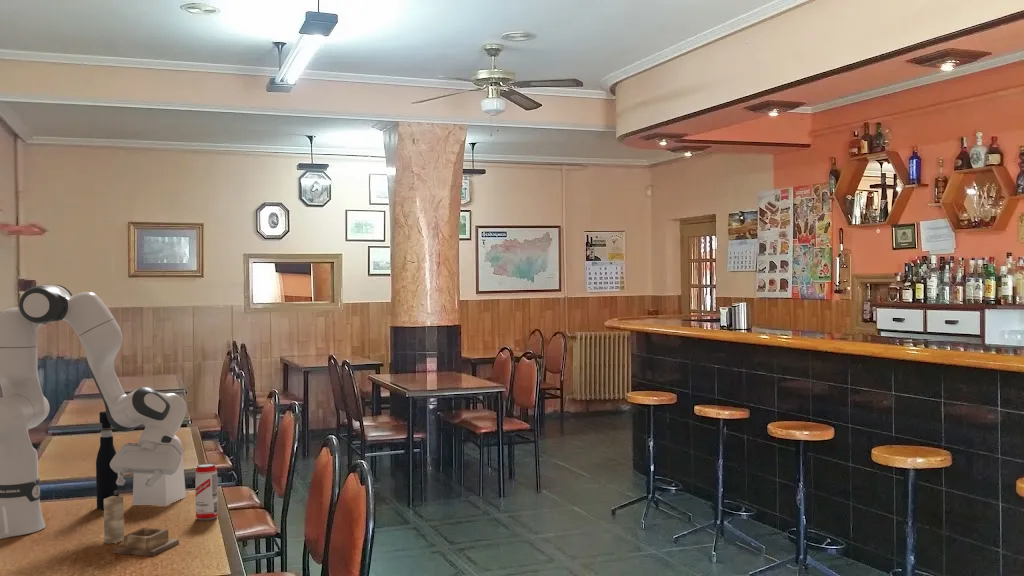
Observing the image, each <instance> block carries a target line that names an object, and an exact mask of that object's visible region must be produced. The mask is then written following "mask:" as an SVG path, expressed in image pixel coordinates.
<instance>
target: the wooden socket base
mask: <svg viewBox="0 0 1024 576" xmlns="http://www.w3.org/2000/svg"><path fill="white" fill-rule="evenodd" d="M169 536H170V535H169V529H167V528H151V527H149V528H148V527H142V528H140V529H139V528H138V529H137V530H134V531H132V532H130V533H128V534H124V540H123V544H121V545H119V546H116V547H114V548H113V549H112V553H113V554H115V553H117V554H120V555H129V554H134V555H133V556H143V555H144V557H145V556H146V557H155V556H157V555H159V554H161V553H163V552H165V551H167V550H169V549H171V548H173V547H175V546H177V545H179V542H180V540H179V539H178V538H170V537H169ZM158 553H159V554H158ZM156 554H157V555H156ZM154 555H155V556H154Z"/></svg>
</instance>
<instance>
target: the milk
mask: <svg viewBox="0 0 1024 576" xmlns="http://www.w3.org/2000/svg"><path fill="white" fill-rule="evenodd" d="M174 438H175V439H176V440H177V441H178V442H179V443H180V445H181V446H182V447H183V443H182V440H181V439H180V437H178V436H177V435H176V434H175V436H174ZM184 467H185V466H184V457H183V455H181V462H180V464H179V467H178V469H177V471H176V472H175V473H174V474H172V475H162V476H161V478H159V479H158V480H157V481H156V482H154V484H153V486H152V487H147V486H146V485H145V482H146V480H147V479H150V478H151V477H152V476H153V475H154V474H137V473H133V477H132V478H133V479H132V482H133V483H132V506H134V505H162V506H161V507H167V506H166V505H168V506H170V505H172V504H171V503H173V502H175V503H176V501H177V502H179V501H181V500H183V499H185V498H186V497H187V496H186V494H187V493H186V482H185V481H186V480H185V471H184V470H185V468H184ZM180 499H181V500H180ZM178 500H179V501H178ZM169 504H170V505H169ZM173 504H174V503H173Z"/></svg>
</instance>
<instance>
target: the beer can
mask: <svg viewBox="0 0 1024 576" xmlns="http://www.w3.org/2000/svg"><path fill="white" fill-rule="evenodd" d="M196 467H197V468H196V469H195V472H194V479H195V480H194V482H195V485H194V486H195V518H196V519H198V520H199V521H211V520H215V519H216V518H217V517H218V515H219V509H218V508H219V506H218V505H219V503H218V502H219V499H218V498H219V497H218V469H217V467H216V463H213V462H206V463H199V464H197V465H196Z"/></svg>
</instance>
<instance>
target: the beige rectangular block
mask: <svg viewBox="0 0 1024 576" xmlns="http://www.w3.org/2000/svg"><path fill="white" fill-rule="evenodd" d="M124 510H125V509H124V496H120V495H119V496H111V497H108V498H105V499H104V510H103V527H104V528H103V529H104V531H103V533H104V535H103V536H104V539H103V540H104V544H111V543H115V544H114V545H116V544H118V542H119V543H120V541H121V542H123V541H124V536H125V515H124V514H125V513H124V512H125V511H124ZM122 540H123V541H122Z"/></svg>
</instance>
